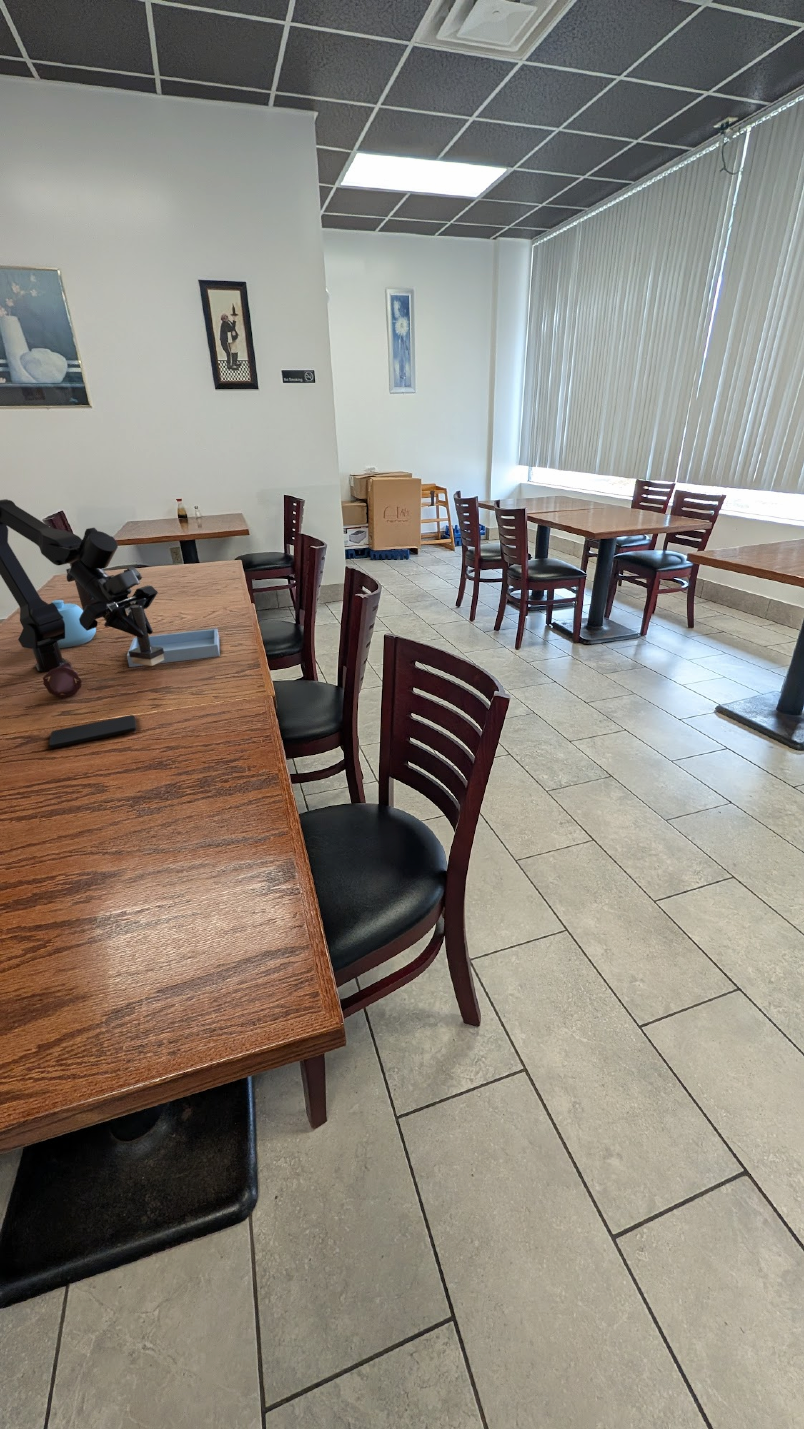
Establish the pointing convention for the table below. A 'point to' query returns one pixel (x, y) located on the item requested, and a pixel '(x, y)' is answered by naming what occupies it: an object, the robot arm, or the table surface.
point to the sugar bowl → (72, 625)
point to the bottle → (83, 595)
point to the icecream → (62, 681)
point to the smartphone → (92, 731)
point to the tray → (183, 645)
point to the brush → (144, 642)
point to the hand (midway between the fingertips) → (147, 634)
